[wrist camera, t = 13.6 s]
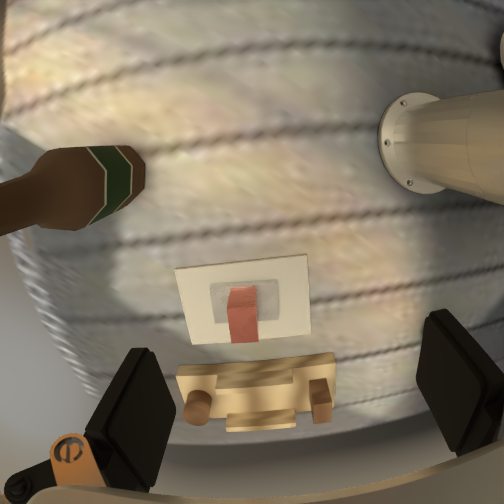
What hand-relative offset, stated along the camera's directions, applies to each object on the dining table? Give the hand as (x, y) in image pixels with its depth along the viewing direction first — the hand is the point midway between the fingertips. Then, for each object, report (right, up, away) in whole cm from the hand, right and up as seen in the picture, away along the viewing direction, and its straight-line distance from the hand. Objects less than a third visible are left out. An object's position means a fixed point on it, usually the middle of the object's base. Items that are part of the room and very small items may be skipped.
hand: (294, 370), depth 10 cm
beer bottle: (-17, +13, +25) cm, 33 cm away
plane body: (0, -16, +34) cm, 38 cm away
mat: (-2, -2, +30) cm, 30 cm away
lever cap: (-2, -2, +29) cm, 30 cm away
